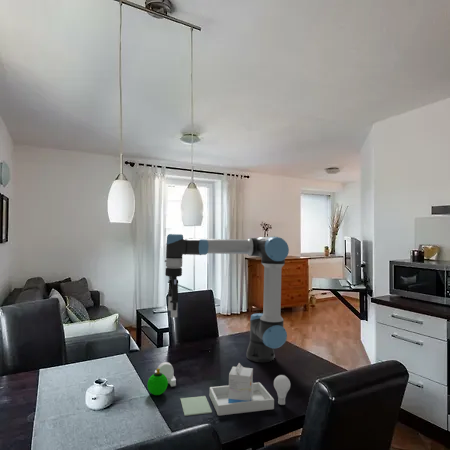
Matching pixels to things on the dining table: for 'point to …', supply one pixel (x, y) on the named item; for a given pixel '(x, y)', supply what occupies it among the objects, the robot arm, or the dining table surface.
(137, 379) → the dining table surface
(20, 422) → the dining table surface
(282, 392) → the lightbulb
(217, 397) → the tray
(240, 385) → the ink box
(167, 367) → the slotted bracket
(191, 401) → the mat
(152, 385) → the ornament
